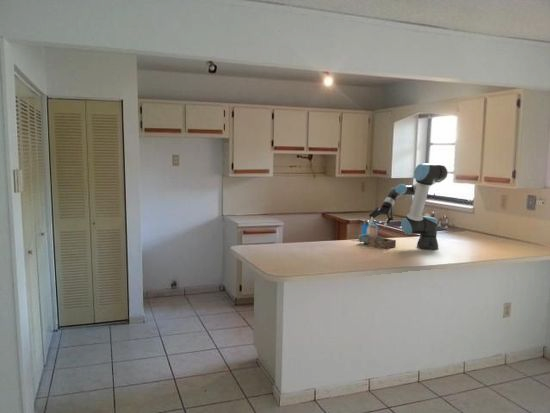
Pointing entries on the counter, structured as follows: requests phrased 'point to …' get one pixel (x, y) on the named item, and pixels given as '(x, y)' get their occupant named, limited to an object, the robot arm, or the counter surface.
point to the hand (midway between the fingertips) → (376, 225)
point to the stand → (382, 243)
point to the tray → (366, 236)
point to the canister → (373, 232)
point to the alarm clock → (368, 227)
